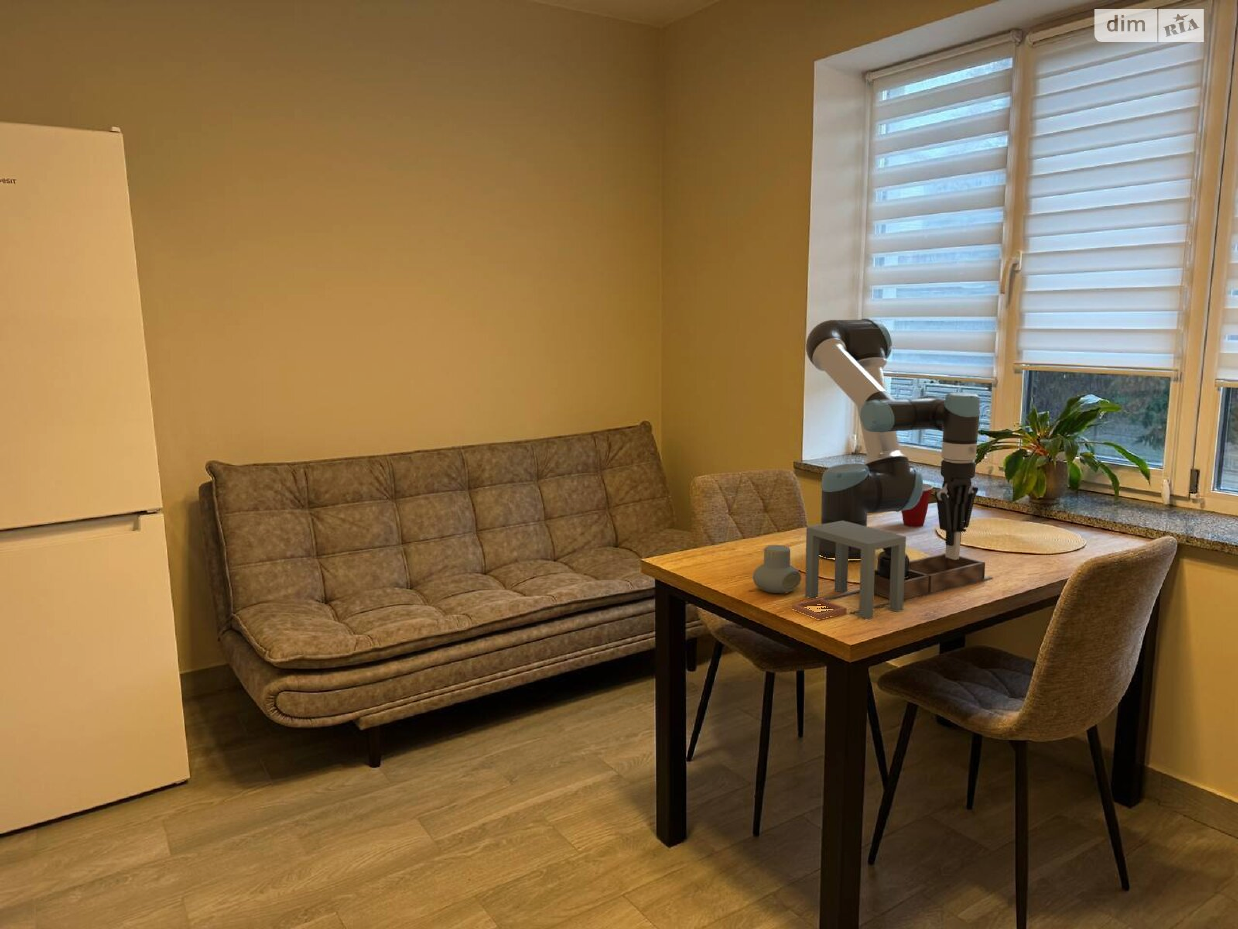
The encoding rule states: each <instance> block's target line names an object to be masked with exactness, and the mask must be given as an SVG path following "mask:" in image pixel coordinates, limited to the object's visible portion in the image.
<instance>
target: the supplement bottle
mask: <svg viewBox="0 0 1238 929" xmlns="http://www.w3.org/2000/svg"><path fill="white" fill-rule="evenodd" d="M882 550H883V551H881V552H879V554H878V555H877V559H876V560H877V565H876V569H877V576H880V577H883V578H886V579H890V571H891V547H887V548H882ZM909 561H910V558H909V555H908V554H907V553H905V572H904V581H905V580H908V577H909Z"/></svg>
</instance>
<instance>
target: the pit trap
mask: <svg viewBox="0 0 1238 929" xmlns="http://www.w3.org/2000/svg"><path fill="white" fill-rule="evenodd" d="M817 604H821V605H817ZM807 606H826V608H825V607H824V608H822V607H821V609H833V610H828V611H827V610H826V611H821V612H814V611H812V610H809V609H810V608H809V609H807V608H804V607H807ZM827 607H828V608H827ZM792 609H794V610H797V611H799V612H801V613H804V614H806V615H809V616H812V617H814V618H816V619H822V620H824V619H823V618H826V617H830V616H834V617H837V615H838V616H841V615H840V614H842V615H845V614H844V613H846V614H847V610H848V609H847V607H845V606H842V605H840V604H837V603H834V602H833V601H832V602H831V601H830V600H824V599H823V598H821V597H818V598H814V599H809V600H805V601H801V602H797V603H793V604H791V610H792ZM817 609H818V608H817ZM819 609H820V608H819ZM801 613H800V614H801ZM806 615H805V616H806ZM830 618H831V617H830ZM816 619H815V620H816ZM826 619H827V618H826Z"/></svg>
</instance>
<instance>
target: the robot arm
mask: <svg viewBox="0 0 1238 929" xmlns="http://www.w3.org/2000/svg"><path fill="white" fill-rule="evenodd" d="M892 340H893V339H892V335H891V333H890V331H889V329H888V327H887V326H886V325H885V324H884V323H883V322H882V321H880V320H878V319H868V318H862V319H828V320H825V321H822V322H819V324H817V325H816V326H814V327H813V328H812V330H811V331H810V333H809V334H808V336H807V338H806V343H805V350H806V356H807V357H808V359H809V361H810V362H811V364H812V365H813V366H814V367H815V368H816V369H817V370H819V371H822V372H825V373H826V374H827V375H828V377H830V378H831V379H832V381H833V382H834V383H835V384H836V385H837V386H838V387H839V388H840V389H841V391H843V392H844V394H846V396H847V397H848V398H849V399H850V400H851V401H852V402H853V403H854V404H855V405H856V408H857V413H858V417H859V418H858V419H859V422H860V423H859V424H860V429H861V433H862V437H863V443H864V447H865V448H864V449H865V453H866V457H867V459H866V461H865V462H864V464H863V463H843V464H837V465H833V466H830V467H829V468H826V469H825V471H824V472H822V479H821V485H820V489H821V505H820V506H821V510H820V513H821V514H820V518H821V519H820V525H821V524H826V523H832V522H837V521H846V522H850V523H854V524H858V525H862V526H866V527H868V514H877V513H879V514H880V513H890V512H896V513H899V512H901V511H902V510H909V509H912V508H913V507H915V506H916V505H917V503H918V502H919V500H920V497H921V495H922V491H923V483H924V481H923V476H922V473H921V471H920V470H919V469H918V467H916V466H913V465H910V462H909V457H908V456H907V455H905V454H904V453H902V452H901V448H900V444H899V438H898V434H897V432H901V431H902V432H903V431H922V430H924V431H925V430H934V431H938V432H939V431H940V432H942V442H941V443H942V444H941V452H940V454H941V458H942V460H941V462H940V463H941V464H940V475H941V476H942V478H943V481H942V483H941V484H942V485H941V487H942V488H941V489H940V490H939V491H937V490H936V491H935V492H934V494H933V495H934V498H935V500H936V507H937V508H936V509H937V516H938V524H939V530H941V531H944V532H945V553H946V554H945V557H947V558H950V559H954V560H956V559H959V556H960V550H961V542H962V533H965V532H967V528H968V527H969V525H970V520H971V517H972V516H971V515H972V513H973V512H972V511H973V508H974V504H975V503H974V502H975V498H976V496H977V493H978V491H979V487H977V486H973V484H972V483H973V481H972V479H974V478H975V476H976V469H977V468H976V467H977V466H976V464H977V463H976V462H975V460H976V459H977V446H978V437H979V427H980V426H979V424H980V415H981V410H980V409H981V408H980V406H981V405H980V403H981V402H980V397H979V395H978V394H976V393H972V392H971V393H968V392H950V393H947V394H946V395H945V398H939V397H935V396H930V395H929V396H925V395H924V396H923V395H922V396H919V397H917V398H900V399H899V398H898V399H897V398H894V396H892V395H891V394H890V393H889V392H888V388H887V384H886V380H885V376H884V371H883V370H884V368H885V366H886V364H887V362H888V361H887V359H888V358H889V357H890V355H891V354H892V346H893V341H892ZM835 551H836V542H834V541H830V540H827V539H823V538H820V537H819V555H821V556H823V557H826V558H835ZM848 559H861V549H858V548H855V547H851V546H849V548H848Z"/></svg>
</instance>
